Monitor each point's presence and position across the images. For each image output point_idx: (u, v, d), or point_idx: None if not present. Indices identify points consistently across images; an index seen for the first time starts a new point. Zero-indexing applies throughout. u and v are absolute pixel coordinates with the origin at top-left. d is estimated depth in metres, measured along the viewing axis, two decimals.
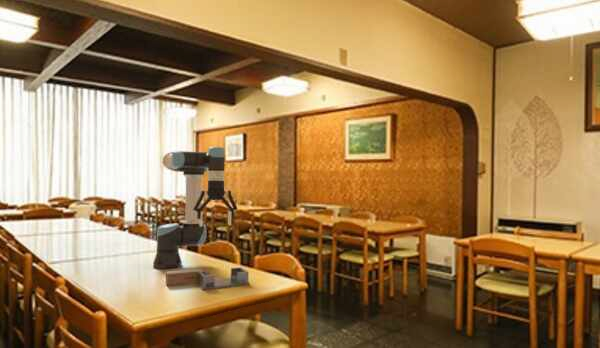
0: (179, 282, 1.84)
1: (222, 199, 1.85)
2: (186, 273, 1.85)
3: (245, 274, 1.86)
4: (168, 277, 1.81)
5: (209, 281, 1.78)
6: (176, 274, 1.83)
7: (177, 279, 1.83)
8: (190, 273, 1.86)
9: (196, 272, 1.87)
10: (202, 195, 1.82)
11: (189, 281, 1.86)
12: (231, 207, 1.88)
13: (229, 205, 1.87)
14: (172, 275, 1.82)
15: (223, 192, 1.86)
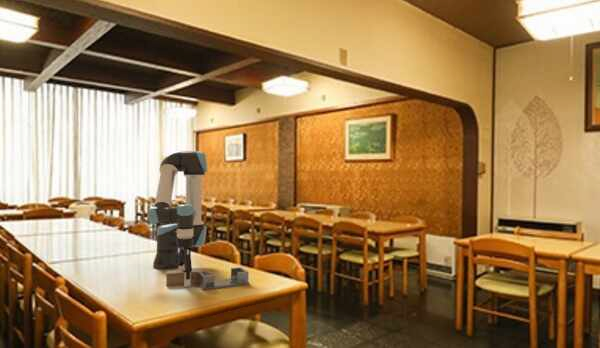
0: (178, 282, 1.84)
1: (182, 257, 1.84)
2: None
3: (245, 274, 1.86)
4: (168, 277, 1.82)
5: (209, 281, 1.78)
6: (175, 274, 1.83)
7: (176, 279, 1.83)
8: None
9: (196, 272, 1.86)
10: (179, 250, 1.92)
11: None
12: (185, 268, 1.80)
13: (184, 265, 1.81)
14: (171, 275, 1.83)
15: (183, 250, 1.84)
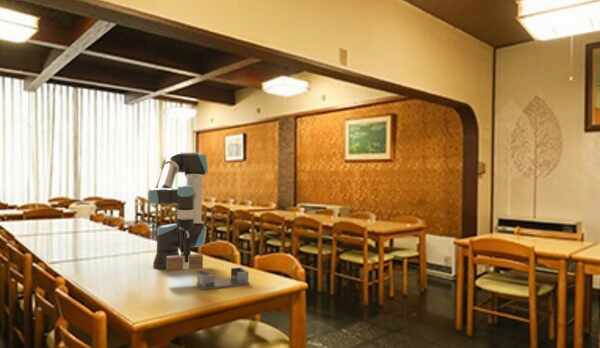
0: (179, 266, 1.84)
1: (181, 238, 1.85)
2: None
3: (245, 274, 1.86)
4: (168, 261, 1.82)
5: (209, 281, 1.78)
6: (176, 258, 1.84)
7: (176, 263, 1.84)
8: (190, 258, 1.86)
9: (196, 257, 1.87)
10: None
11: (189, 266, 1.86)
12: (184, 251, 1.83)
13: (183, 248, 1.84)
14: (172, 259, 1.83)
15: (184, 231, 1.84)
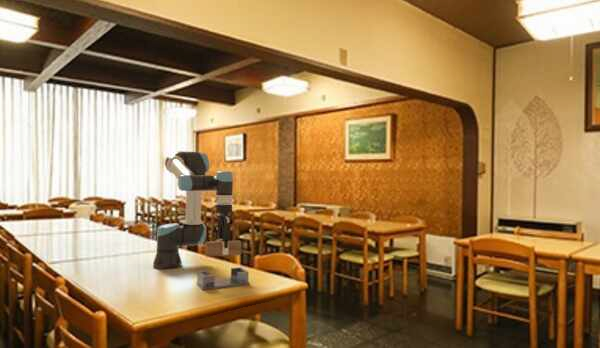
0: (218, 252, 1.83)
1: (221, 224, 1.84)
2: None
3: (245, 274, 1.86)
4: (208, 246, 1.81)
5: (209, 281, 1.78)
6: (216, 244, 1.83)
7: (216, 249, 1.83)
8: (229, 243, 1.85)
9: (235, 243, 1.86)
10: (218, 220, 1.91)
11: (228, 252, 1.85)
12: (223, 236, 1.82)
13: (223, 233, 1.83)
14: (212, 245, 1.82)
15: (223, 217, 1.83)
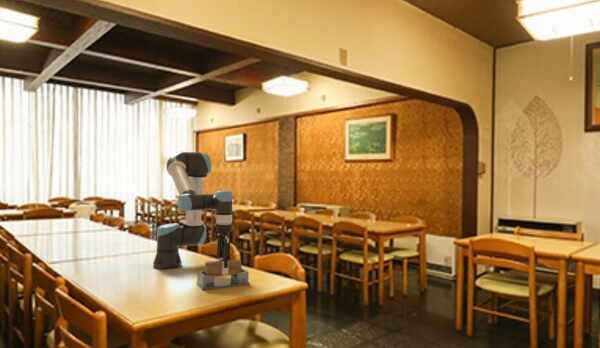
0: (218, 272, 1.83)
1: (221, 244, 1.84)
2: None
3: (245, 274, 1.86)
4: (208, 267, 1.81)
5: (209, 281, 1.78)
6: (215, 264, 1.82)
7: (216, 269, 1.83)
8: (229, 263, 1.85)
9: (235, 262, 1.86)
10: (217, 239, 1.91)
11: (228, 271, 1.85)
12: (223, 256, 1.82)
13: (223, 253, 1.83)
14: (211, 265, 1.82)
15: (223, 237, 1.83)
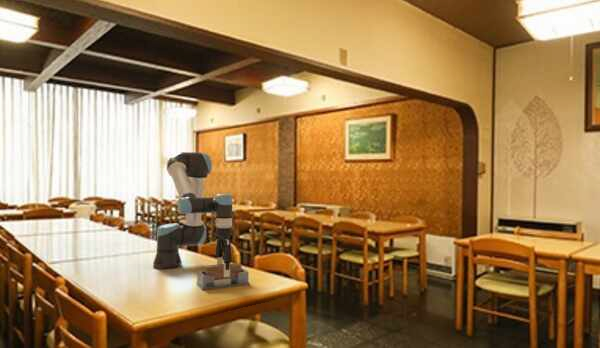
0: (218, 276, 1.83)
1: (221, 247, 1.84)
2: None
3: (245, 274, 1.86)
4: (208, 271, 1.81)
5: (209, 281, 1.78)
6: (215, 268, 1.83)
7: (216, 273, 1.83)
8: None
9: (235, 266, 1.86)
10: (217, 240, 1.92)
11: None
12: (225, 258, 1.80)
13: (224, 255, 1.81)
14: (211, 269, 1.82)
15: (223, 240, 1.83)
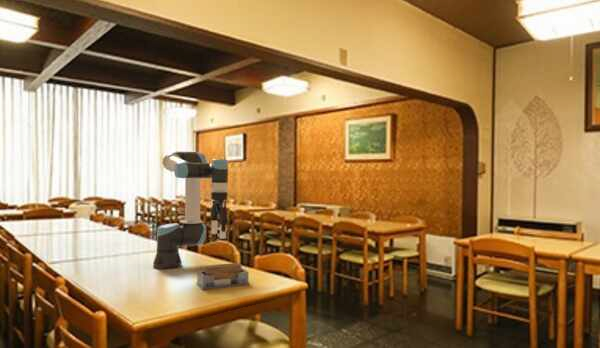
0: (218, 276, 1.83)
1: (217, 211, 1.86)
2: (225, 267, 1.84)
3: (245, 274, 1.86)
4: (208, 271, 1.81)
5: (209, 281, 1.78)
6: (215, 268, 1.83)
7: (216, 273, 1.83)
8: (229, 267, 1.85)
9: (235, 266, 1.86)
10: (212, 205, 1.94)
11: (228, 275, 1.85)
12: (220, 220, 1.82)
13: (220, 218, 1.83)
14: (211, 269, 1.82)
15: (218, 204, 1.85)
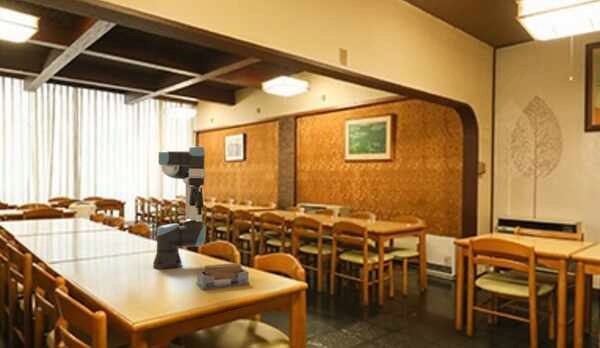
0: (218, 276, 1.83)
1: (194, 195, 1.95)
2: (225, 267, 1.84)
3: (245, 274, 1.86)
4: (208, 271, 1.81)
5: (209, 281, 1.78)
6: (215, 268, 1.83)
7: (216, 273, 1.83)
8: (229, 267, 1.85)
9: (235, 266, 1.86)
10: (190, 191, 2.04)
11: (228, 275, 1.85)
12: (197, 204, 1.91)
13: (196, 202, 1.92)
14: (211, 269, 1.82)
15: (195, 189, 1.95)
